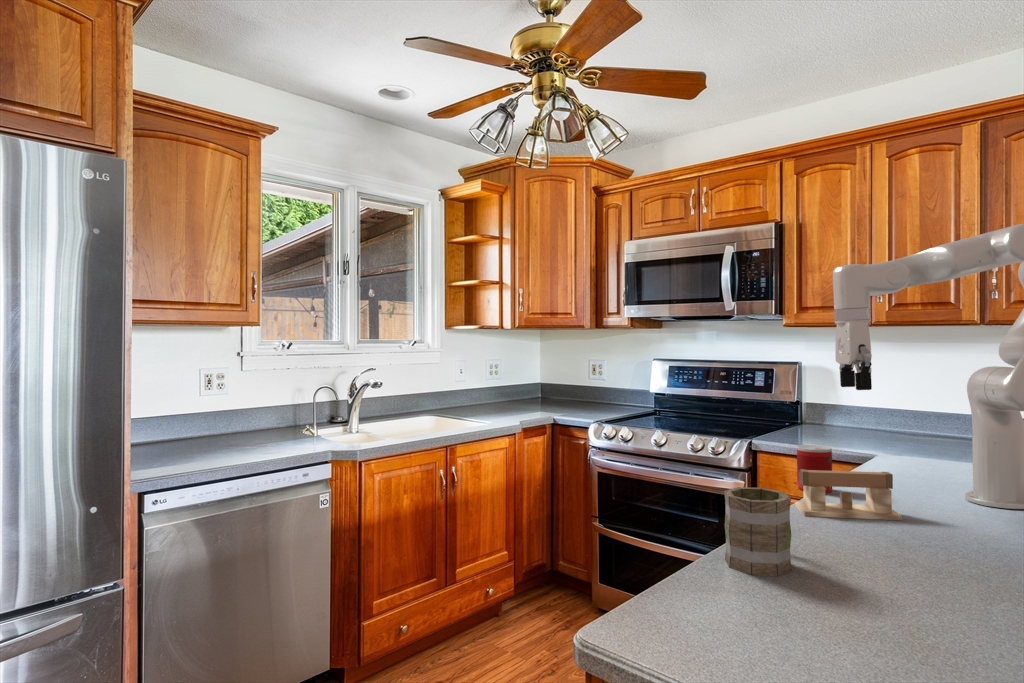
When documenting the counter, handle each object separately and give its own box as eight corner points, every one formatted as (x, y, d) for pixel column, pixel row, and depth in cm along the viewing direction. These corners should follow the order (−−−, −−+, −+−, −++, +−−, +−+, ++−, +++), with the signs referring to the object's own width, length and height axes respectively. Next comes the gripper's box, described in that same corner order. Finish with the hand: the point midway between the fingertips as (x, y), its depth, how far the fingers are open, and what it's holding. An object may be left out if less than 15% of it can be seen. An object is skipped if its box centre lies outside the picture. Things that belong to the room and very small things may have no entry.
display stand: (886, 510, 135) (886, 483, 135) (901, 520, 127) (901, 491, 127) (795, 506, 139) (795, 480, 139) (804, 515, 131) (804, 488, 132)
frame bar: (802, 485, 134) (802, 471, 134) (799, 482, 137) (799, 469, 137) (892, 488, 130) (892, 474, 130) (888, 486, 133) (887, 471, 133)
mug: (787, 581, 96) (786, 505, 96) (717, 568, 101) (716, 497, 101) (799, 552, 109) (798, 485, 109) (737, 542, 115) (736, 479, 115)
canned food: (836, 494, 150) (836, 450, 150) (802, 493, 151) (801, 449, 151) (827, 487, 157) (826, 445, 157) (794, 486, 159) (793, 444, 159)
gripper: (823, 318, 153) (826, 386, 153) (848, 315, 136) (852, 391, 136) (855, 317, 152) (858, 385, 152) (885, 314, 135) (888, 390, 135)
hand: (855, 388), depth 144 cm, fingers open, 9 cm apart
